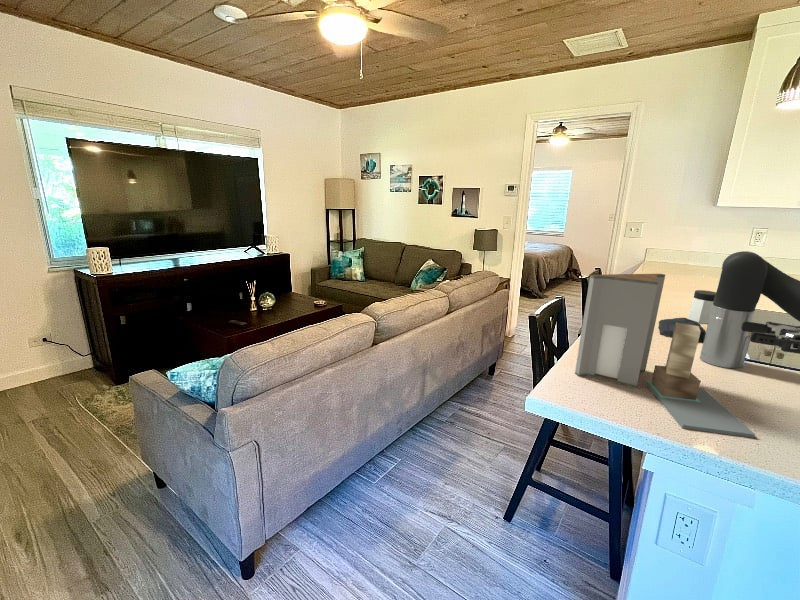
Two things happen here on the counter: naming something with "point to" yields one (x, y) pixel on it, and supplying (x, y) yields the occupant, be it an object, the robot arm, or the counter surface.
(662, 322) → the dark slate chunk
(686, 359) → the pillar
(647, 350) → the cabinet
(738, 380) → the counter surface
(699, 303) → the jar
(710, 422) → the mat
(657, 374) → the base block
